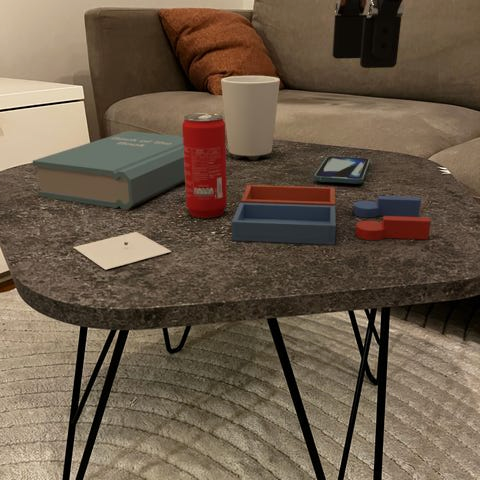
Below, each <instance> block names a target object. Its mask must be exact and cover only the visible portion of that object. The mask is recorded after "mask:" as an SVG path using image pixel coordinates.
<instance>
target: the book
mask: <svg viewBox="0 0 480 480" xmlns="http://www.w3.org/2000/svg"><path fill="white" fill-rule="evenodd" d="M31 162H32V166H33V167H36V170H37V176H38V182H39V189H40V190H38V191H37V195H38V197H40V198H46V199H47V198H48V199H52V200H53V199H54V200H60V201H67V202H72V203H73V202H74V203H80V204H86V205H93V206H99V207H105V208H112V209H118V208H120V209H121V210H125V211H128V210H130V209H132V208H134V207H136V206H138V205H140V204H142V203H144V202H147V201H148V200H150V199H153V198H154V197H156V196H159V195H161V194H163V193H164V192H167V191H169V190H171V189H172V188H174V187H176V186H178V185H180V184H181V185H182V184H183V183H185V167H184V148H183V135H174V134H173V135H172V134H161V133H159V134H158V133H152V132H151V133H150V132H142V131H141V132H140V131H129V130H126V131H123V132H121V133H118V134H114V135H113V134H112V135H111V136H107V137H104V138H100V139H97V140H95V141H91V142H88V143H85V144H82V145H78V146H76V147H72V148H69V149H66V150H62V151H59V152H56V153H52V154H49V155H47V156H43V157H39V158H37V159H33V160H32V161H31Z"/></svg>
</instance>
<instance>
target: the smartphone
mask: <svg viewBox="0 0 480 480" xmlns="http://www.w3.org/2000/svg"><path fill="white" fill-rule="evenodd" d="M370 163H371V158H367V157H353V156H337V155H328V156H326V157H325V159H324V160H323V161H322V163H321V164H320V166H319V167H318V169H317V170H316V172H315V173H314V174H313V180H314V181H316V182H319V183H340V184H341V183H342V184H355V185H356V184H359V185H360V184H363V183H364V180H365V177H366V175H367V172H368V170H369V167H370V165H371V164H370Z"/></svg>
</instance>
